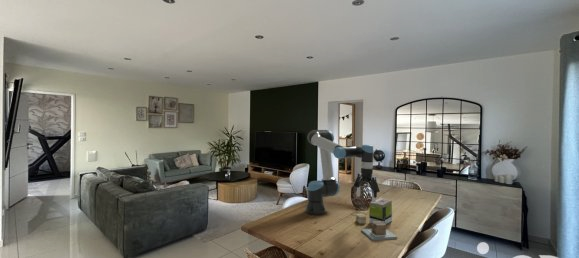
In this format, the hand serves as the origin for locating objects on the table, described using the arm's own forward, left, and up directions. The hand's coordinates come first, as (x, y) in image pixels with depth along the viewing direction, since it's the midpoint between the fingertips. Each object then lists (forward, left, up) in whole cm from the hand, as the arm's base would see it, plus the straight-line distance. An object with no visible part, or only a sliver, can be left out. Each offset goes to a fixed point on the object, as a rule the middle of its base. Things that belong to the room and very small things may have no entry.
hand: (365, 199), depth 169 cm
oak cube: (-6, 0, -18) cm, 19 cm away
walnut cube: (+15, +1, -17) cm, 22 cm away
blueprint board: (+15, +1, -18) cm, 23 cm away
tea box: (-4, +14, -18) cm, 23 cm away
